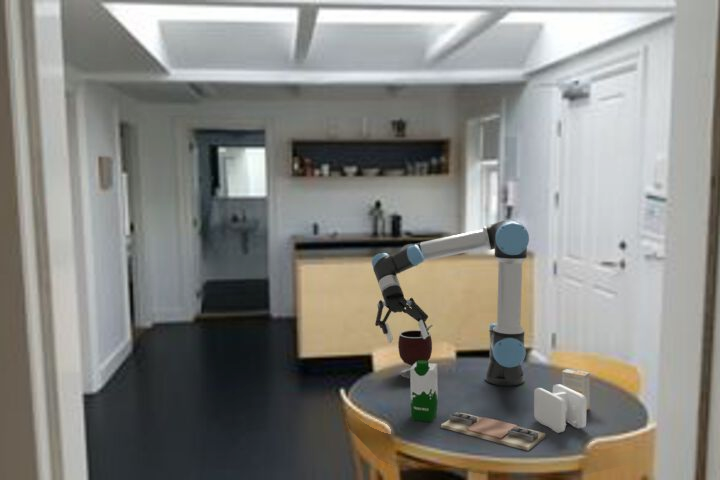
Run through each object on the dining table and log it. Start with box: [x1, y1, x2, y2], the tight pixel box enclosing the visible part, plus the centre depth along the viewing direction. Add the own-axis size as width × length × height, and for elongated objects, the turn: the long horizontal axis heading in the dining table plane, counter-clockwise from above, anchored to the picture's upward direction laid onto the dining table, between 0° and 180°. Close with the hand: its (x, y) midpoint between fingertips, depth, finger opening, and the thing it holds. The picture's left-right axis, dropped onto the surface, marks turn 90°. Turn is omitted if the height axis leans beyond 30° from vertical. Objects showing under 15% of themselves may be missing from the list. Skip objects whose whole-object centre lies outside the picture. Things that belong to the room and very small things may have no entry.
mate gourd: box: [397, 324, 433, 379], centre depth 262 cm, size 16×14×20 cm
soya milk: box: [409, 360, 439, 423], centre depth 214 cm, size 9×9×20 cm
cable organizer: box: [533, 383, 587, 434], centre depth 206 cm, size 15×11×12 cm
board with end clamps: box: [440, 411, 546, 452], centre depth 202 cm, size 30×13×3 cm, turn 51°
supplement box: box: [561, 368, 591, 412], centre depth 220 cm, size 8×5×13 cm, turn 45°
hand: (408, 339), depth 223 cm, fingers open, 13 cm apart
